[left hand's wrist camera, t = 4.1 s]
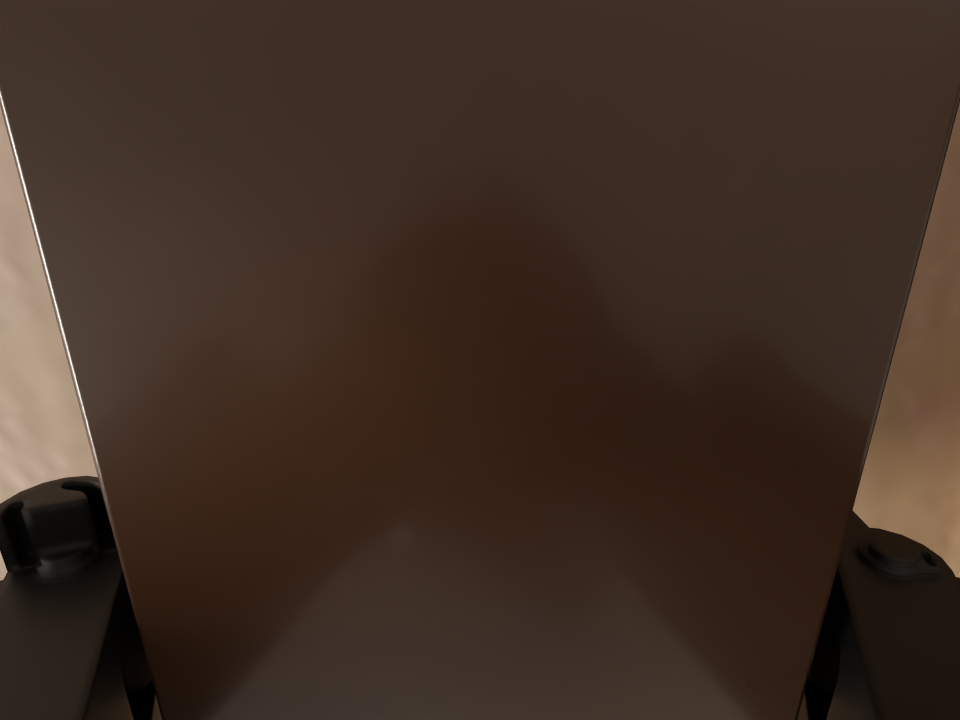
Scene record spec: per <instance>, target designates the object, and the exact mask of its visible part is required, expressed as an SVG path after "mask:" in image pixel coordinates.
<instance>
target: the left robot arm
mask: <svg viewBox="0 0 960 720" xmlns="http://www.w3.org/2000/svg"><path fill="white" fill-rule="evenodd" d="M0 551H1V554H2V557H3V560H4V563H5V565H6V568H7V571H8V572H7V574H6V576H5V578H4V580H2V581H0V720H162V717H161V714H160V710H159V706H158V702H157V698H156V695H155V691H154V687H153V683H152V679H151V676H150V672H149V668H148V664H147V660H146V657H145V653H144V649H143V645H142V641H141V638H140V634H139V630H138V626H137V622H136V619H135V615H134V611H133V607H132V603H131V600H130V596H129V592H128V588H127V584H126V581H125V577H124V573H123V569H122V565H121V562H120V558H119V554H118V550H117V546H116V543H115V539H114V535H113V531H112V527H111V524H110V520H109V516H108V512H107V508H106V505H105V501H104V497H103V493H102V489H101V486H100V482H99V478H98V477H91V476H80V477H67V478H62V479H58V480H54V481H50V482H46V483H42V484H39V485H37V486H34V487H32V488H29V489H27V490H24V491H22V492H19V493H18V494H16V495H14V496H13V497H11V498H9V499H8V500H6V501H4V502H3V503H1V504H0ZM797 720H960V578H958V577H955V575H954V573H953V571H952V570H951V569H950V567H949V566H948V565H947V564H946V563H945V561H944V560H943V559H942V558H941V557H940V556H938V555H937V554H936V553H934V552H933V551H931V550H930V549H929V548H927V547H926V546H924V545H923V544H920V543H918V542H916V541H914V540H912V539H909V538H907V537H905V536H903V535H900V534H897V533H893V532H889V531H886V530H882V529H877V528H869V527H868V526H867V525H866V524H865V523H864V522H863V521H862V520H861V519H860V518H859V517H858V516H857V515H856V514H855V513H854V512H853V511H852V513H851V517H850V521H849V525H848V529H847V532H846V536H845V540H844V544H843V548H842V551H841V555H840V559H839V563H838V567H837V570H836V574H835V578H834V582H833V586H832V589H831V593H830V597H829V601H828V605H827V608H826V612H825V616H824V620H823V624H822V627H821V631H820V635H819V639H818V643H817V647H816V650H815V654H814V658H813V662H812V666H811V669H810V673H809V677H808V681H807V685H806V688H805V692H804V696H803V700H802V704H801V707H800V711H799V715H798V719H797Z"/></svg>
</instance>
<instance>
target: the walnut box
mask: <svg viewBox="0 0 960 720" xmlns="http://www.w3.org/2000/svg"><path fill="white" fill-rule="evenodd" d="M959 102H960V0H0V106H1V110H2V113H3V117H4V121H5V125H6V129H7V132H8V136H9V140H10V144H11V148H12V151H13V155H14V159H15V163H16V167H17V170H18V174H19V178H20V182H21V186H22V189H23V193H24V197H25V201H26V205H27V208H28V212H29V216H30V220H31V224H32V227H33V231H34V235H35V239H36V243H37V246H38V250H39V254H40V258H41V262H42V265H43V269H44V273H45V277H46V281H47V284H48V288H49V292H50V296H51V300H52V303H53V307H54V311H55V315H56V319H57V322H58V326H59V330H60V334H61V338H62V341H63V345H64V349H65V353H66V357H67V360H68V364H69V368H70V372H71V376H72V379H73V383H74V387H75V391H76V395H77V398H78V402H79V406H80V410H81V414H82V417H83V421H84V425H85V429H86V433H87V436H88V440H89V444H90V448H91V451H92V455H93V459H94V463H95V467H96V470H97V474H98V478H99V482H100V486H101V489H102V493H103V497H104V501H105V505H106V508H107V512H108V516H109V520H110V524H111V527H112V531H113V535H114V539H115V543H116V546H117V550H118V554H119V558H120V562H121V565H122V569H123V573H124V577H125V581H126V584H127V588H128V592H129V596H130V600H131V603H132V607H133V611H134V615H135V619H136V622H137V626H138V630H139V634H140V638H141V641H142V645H143V649H144V653H145V657H146V660H147V664H148V668H149V672H150V676H151V679H152V683H153V687H154V691H155V695H156V698H157V702H158V706H159V710H160V714H161V717H162V720H797V719H798V715H799V711H800V707H801V704H802V700H803V696H804V692H805V688H806V685H807V681H808V677H809V673H810V669H811V666H812V662H813V658H814V654H815V650H816V647H817V643H818V639H819V635H820V631H821V627H822V624H823V620H824V616H825V612H826V608H827V605H828V601H829V597H830V593H831V589H832V586H833V582H834V578H835V574H836V570H837V567H838V563H839V559H840V555H841V551H842V548H843V544H844V540H845V536H846V532H847V529H848V525H849V521H850V517H851V513H852V510H853V506H854V502H855V498H856V494H857V490H858V487H859V483H860V479H861V475H862V471H863V468H864V464H865V460H866V456H867V452H868V449H869V445H870V441H871V437H872V433H873V430H874V426H875V422H876V418H877V414H878V411H879V407H880V403H881V399H882V395H883V392H884V388H885V384H886V380H887V376H888V373H889V369H890V365H891V361H892V357H893V353H894V350H895V346H896V342H897V338H898V334H899V331H900V327H901V323H902V319H903V315H904V312H905V308H906V304H907V300H908V296H909V293H910V289H911V285H912V281H913V277H914V274H915V270H916V266H917V262H918V258H919V255H920V251H921V247H922V243H923V239H924V236H925V232H926V228H927V224H928V220H929V217H930V213H931V209H932V205H933V201H934V197H935V194H936V190H937V186H938V182H939V178H940V175H941V171H942V167H943V163H944V159H945V156H946V152H947V148H948V144H949V140H950V137H951V133H952V129H953V125H954V121H955V118H956V114H957V110H958V106H959Z"/></svg>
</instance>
